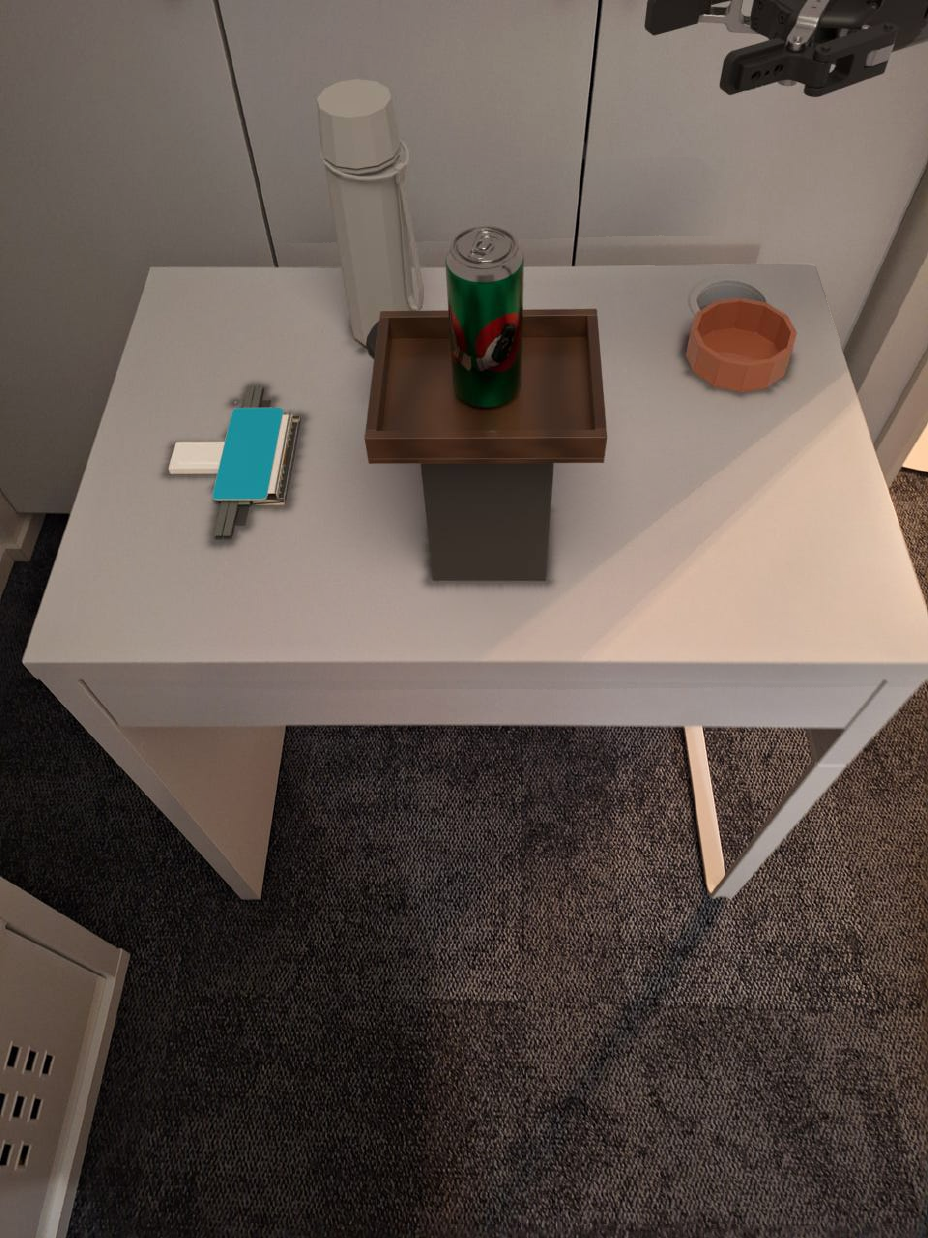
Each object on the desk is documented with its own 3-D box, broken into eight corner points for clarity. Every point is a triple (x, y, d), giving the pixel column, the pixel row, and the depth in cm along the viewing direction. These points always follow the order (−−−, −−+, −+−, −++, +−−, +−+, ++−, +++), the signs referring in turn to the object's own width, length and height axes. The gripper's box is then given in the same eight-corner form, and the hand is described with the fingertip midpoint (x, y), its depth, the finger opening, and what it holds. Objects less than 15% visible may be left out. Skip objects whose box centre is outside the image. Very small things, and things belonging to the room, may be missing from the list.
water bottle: (336, 341, 100) (292, 107, 79) (377, 301, 103) (346, 67, 82) (406, 370, 97) (380, 134, 76) (446, 327, 100) (432, 91, 79)
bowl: (794, 336, 97) (803, 309, 94) (777, 400, 92) (786, 373, 89) (699, 317, 100) (705, 290, 97) (677, 378, 94) (682, 351, 92)
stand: (544, 511, 85) (552, 359, 70) (545, 581, 81) (555, 434, 66) (437, 512, 86) (423, 360, 71) (433, 581, 81) (417, 435, 66)
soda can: (531, 376, 69) (536, 231, 59) (504, 420, 66) (504, 277, 56) (470, 359, 70) (464, 213, 60) (441, 401, 67) (430, 258, 57)
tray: (594, 334, 72) (597, 308, 70) (604, 463, 64) (607, 437, 62) (383, 336, 72) (379, 310, 70) (368, 463, 65) (364, 438, 63)
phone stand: (193, 390, 96) (189, 378, 95) (306, 389, 95) (303, 377, 94) (152, 540, 85) (146, 528, 84) (279, 540, 84) (275, 528, 83)
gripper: (845, -123, 60) (631, -70, 57) (1003, -42, 53) (769, 25, 49) (813, 4, 66) (618, 59, 63) (950, 92, 59) (739, 160, 56)
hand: (685, 44), depth 56 cm, fingers open, 8 cm apart
